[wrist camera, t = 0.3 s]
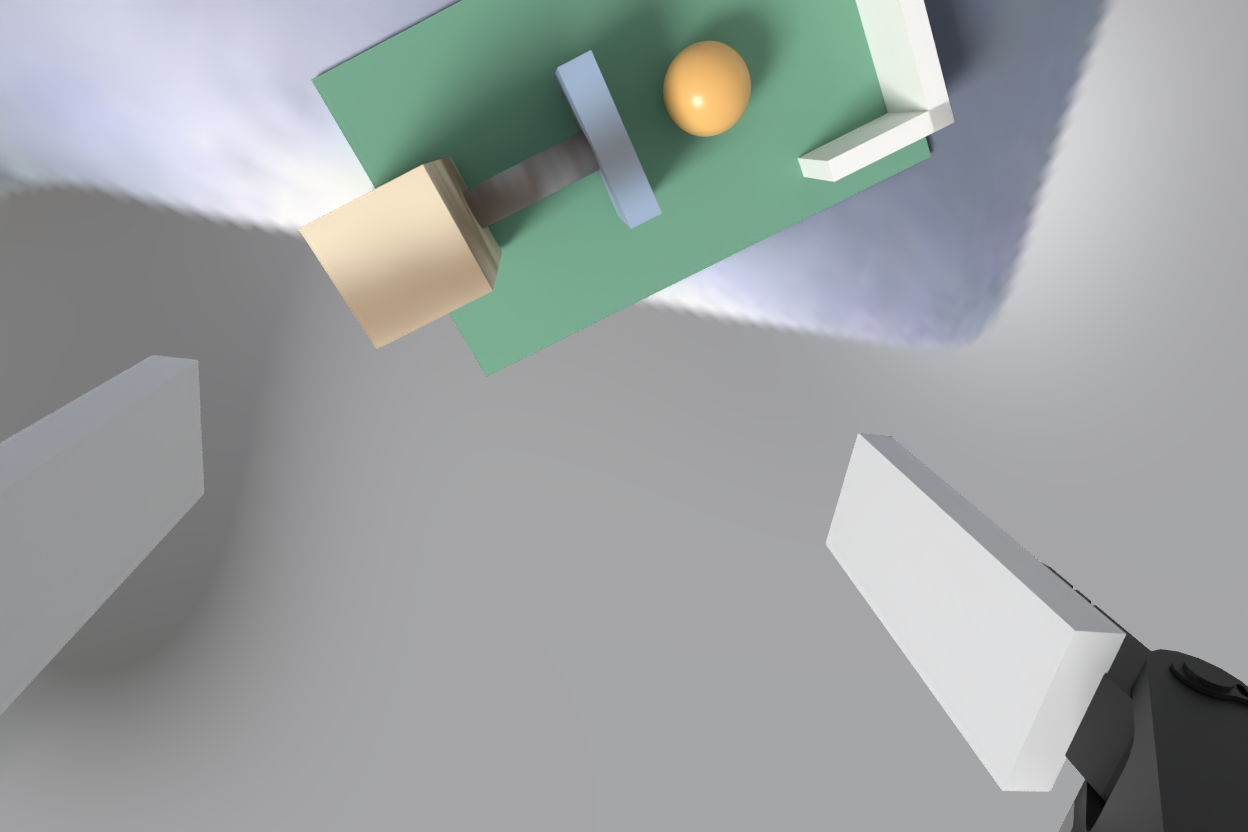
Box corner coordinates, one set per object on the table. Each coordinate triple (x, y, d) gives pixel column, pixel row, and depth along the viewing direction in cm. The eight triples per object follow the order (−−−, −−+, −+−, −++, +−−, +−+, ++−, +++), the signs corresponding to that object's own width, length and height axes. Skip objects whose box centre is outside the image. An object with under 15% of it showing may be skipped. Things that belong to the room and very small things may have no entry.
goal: (716, -77, 32) (740, -104, 28) (838, -141, 32) (878, -177, 28) (803, 177, 37) (834, 181, 33) (911, 123, 36) (954, 121, 33)
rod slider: (346, 184, 34) (281, 202, 25) (582, 61, 33) (601, 35, 24) (424, 314, 36) (390, 371, 28) (645, 202, 36) (681, 225, 27)
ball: (643, 69, 34) (656, 62, 30) (719, 30, 34) (742, 18, 30) (676, 150, 36) (693, 153, 32) (749, 113, 35) (775, 111, 32)
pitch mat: (314, 80, 33) (311, 79, 33) (831, -194, 31) (834, -198, 31) (486, 374, 39) (486, 376, 39) (926, 156, 38) (931, 156, 37)
